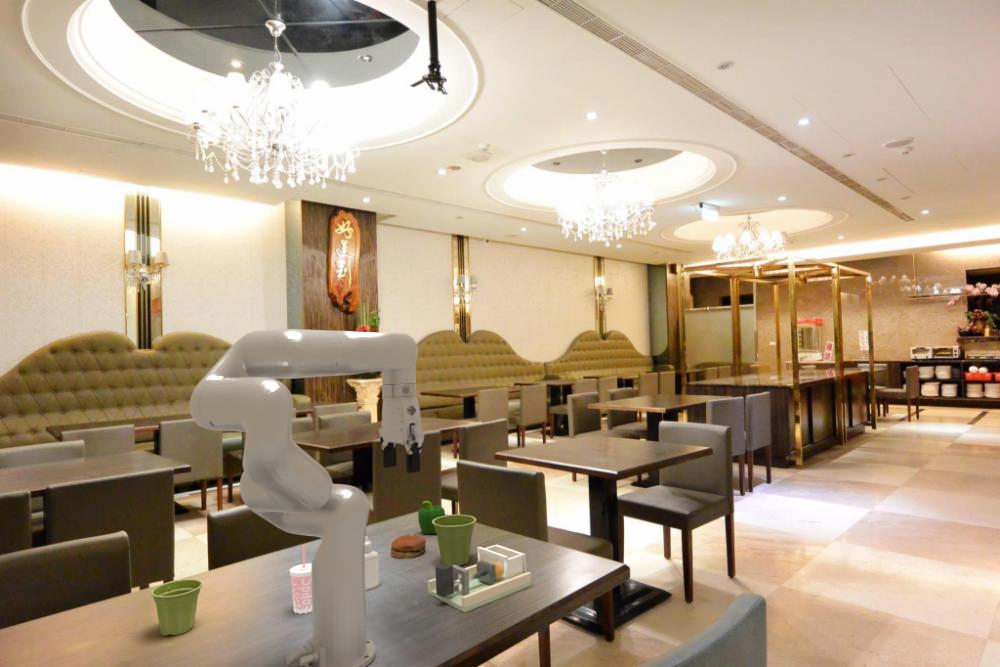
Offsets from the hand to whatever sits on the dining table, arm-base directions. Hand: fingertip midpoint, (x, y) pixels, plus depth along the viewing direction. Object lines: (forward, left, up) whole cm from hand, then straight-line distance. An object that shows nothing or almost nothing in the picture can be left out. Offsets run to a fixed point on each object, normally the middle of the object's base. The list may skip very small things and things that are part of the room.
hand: (401, 469), depth 127 cm
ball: (+23, -4, -27) cm, 36 cm away
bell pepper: (+36, +42, -31) cm, 63 cm away
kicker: (+14, -4, -29) cm, 32 cm away
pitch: (+18, -4, -30) cm, 35 cm away
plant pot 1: (-39, +26, -31) cm, 56 cm away
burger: (+20, +31, -31) cm, 48 cm away
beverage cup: (-16, +16, -31) cm, 38 cm away
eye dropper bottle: (0, +17, -31) cm, 35 cm away
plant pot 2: (+25, +15, -31) cm, 42 cm away
